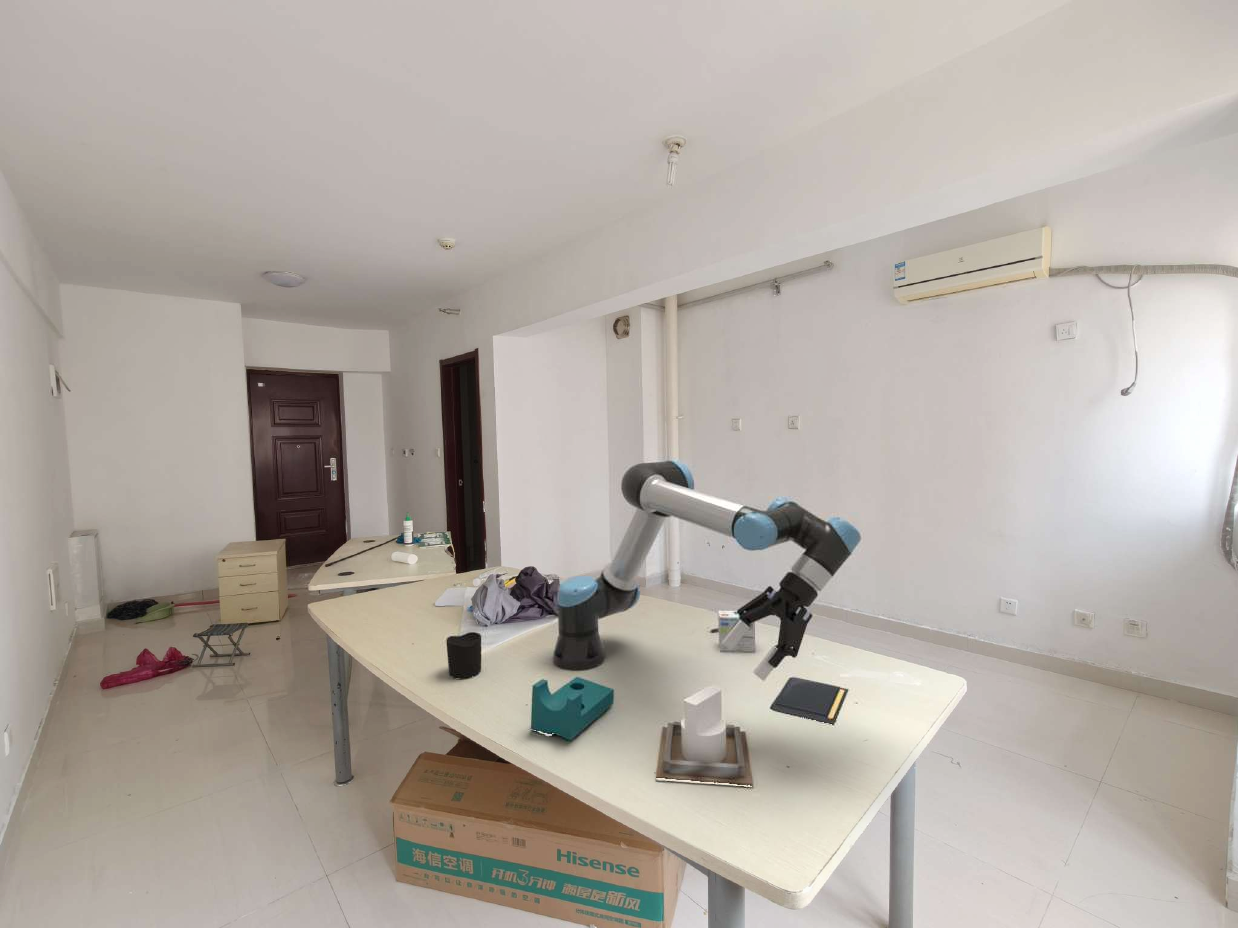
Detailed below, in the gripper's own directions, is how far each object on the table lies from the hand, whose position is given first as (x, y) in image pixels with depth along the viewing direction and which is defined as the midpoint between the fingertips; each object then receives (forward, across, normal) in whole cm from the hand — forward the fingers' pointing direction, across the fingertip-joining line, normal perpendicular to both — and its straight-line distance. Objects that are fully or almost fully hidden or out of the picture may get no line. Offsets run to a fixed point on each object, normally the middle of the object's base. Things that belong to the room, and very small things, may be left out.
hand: (741, 660), depth 116 cm
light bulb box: (0, +46, -32) cm, 56 cm away
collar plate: (+20, -2, -5) cm, 20 cm away
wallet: (-2, +11, -32) cm, 34 cm away
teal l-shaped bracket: (+36, +21, +10) cm, 43 cm away
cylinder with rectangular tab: (+19, -2, -5) cm, 20 cm away
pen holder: (+54, +55, +26) cm, 81 cm away
